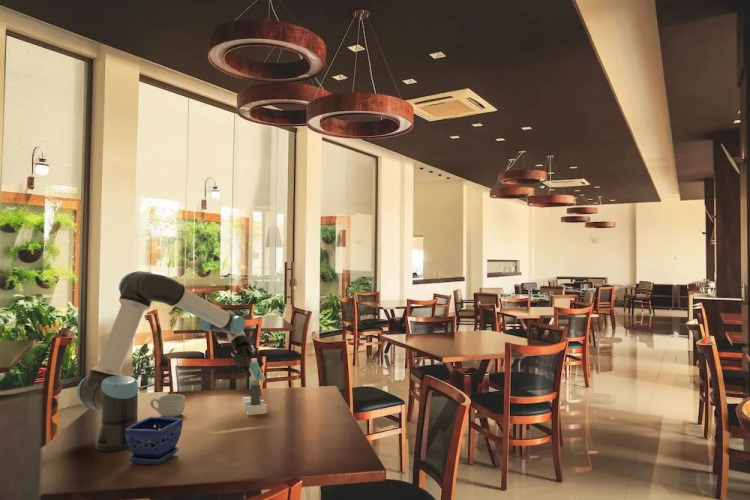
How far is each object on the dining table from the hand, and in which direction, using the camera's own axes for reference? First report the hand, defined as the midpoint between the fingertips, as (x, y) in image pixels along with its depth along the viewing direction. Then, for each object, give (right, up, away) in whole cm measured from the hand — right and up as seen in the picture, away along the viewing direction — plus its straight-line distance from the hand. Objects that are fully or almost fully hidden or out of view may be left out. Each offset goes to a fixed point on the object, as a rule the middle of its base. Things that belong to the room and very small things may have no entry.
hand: (258, 381), depth 228 cm
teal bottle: (-3, -4, +2) cm, 5 cm away
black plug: (0, -12, -5) cm, 13 cm away
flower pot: (-22, -12, -57) cm, 62 cm away
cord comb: (-2, -13, -2) cm, 13 cm away
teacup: (-37, -13, -8) cm, 40 cm away
